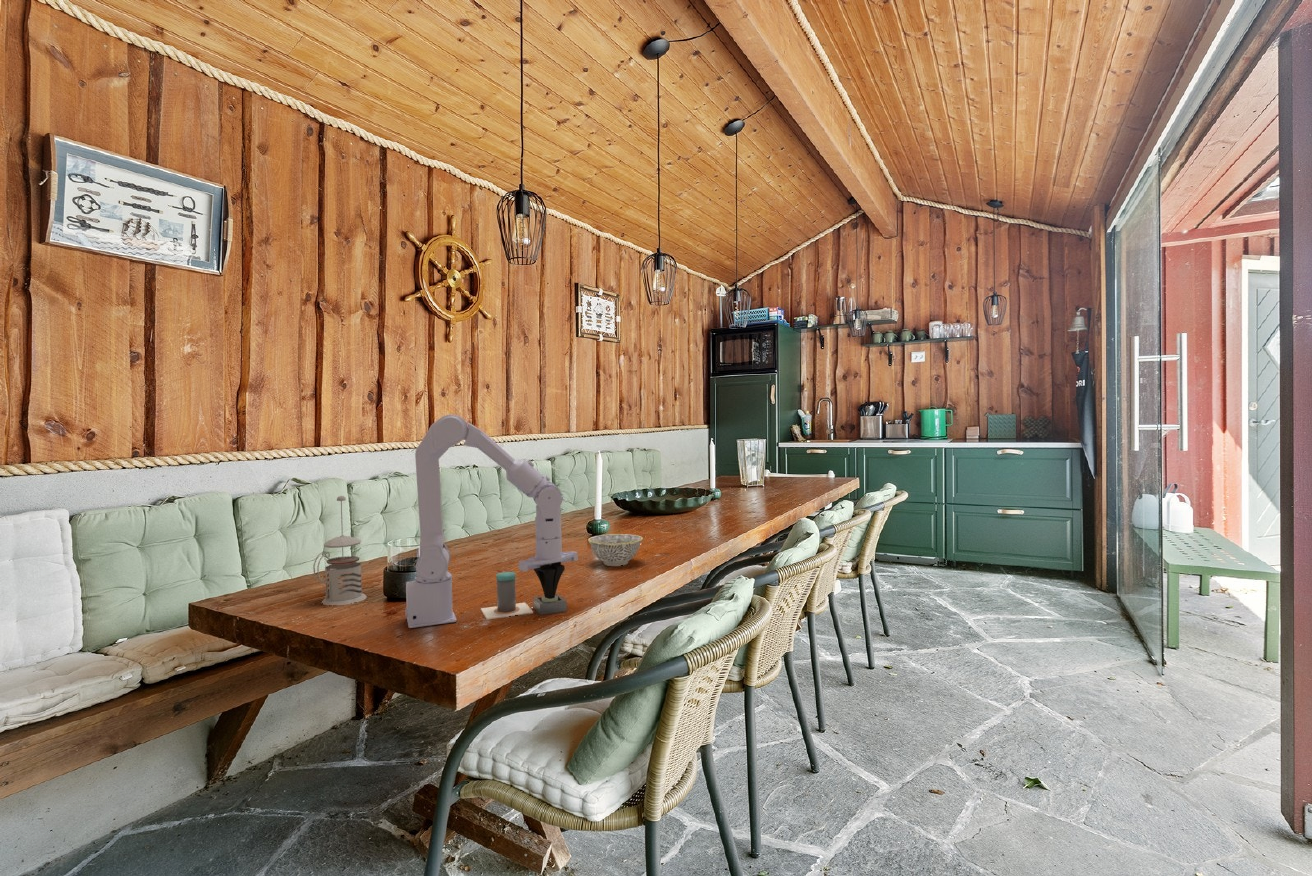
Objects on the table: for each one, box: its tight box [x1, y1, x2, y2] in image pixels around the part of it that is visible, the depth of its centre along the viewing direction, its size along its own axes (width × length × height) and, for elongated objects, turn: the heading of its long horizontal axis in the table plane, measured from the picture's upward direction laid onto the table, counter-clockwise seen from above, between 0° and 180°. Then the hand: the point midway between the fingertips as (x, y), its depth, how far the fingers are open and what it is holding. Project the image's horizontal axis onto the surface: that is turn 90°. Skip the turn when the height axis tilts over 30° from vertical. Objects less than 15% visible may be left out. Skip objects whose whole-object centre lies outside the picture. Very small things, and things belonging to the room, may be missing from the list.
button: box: [542, 595, 558, 603], centre depth 143 cm, size 4×4×2 cm
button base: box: [532, 593, 568, 616], centre depth 143 cm, size 6×6×2 cm
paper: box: [480, 602, 534, 621], centre depth 142 cm, size 10×8×1 cm
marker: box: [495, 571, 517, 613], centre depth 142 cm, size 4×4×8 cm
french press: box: [312, 495, 367, 607], centre depth 152 cm, size 10×12×25 cm
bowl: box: [587, 533, 644, 567], centre depth 187 cm, size 16×16×8 cm
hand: (549, 597), depth 143 cm, fingers closed, pressing on button
